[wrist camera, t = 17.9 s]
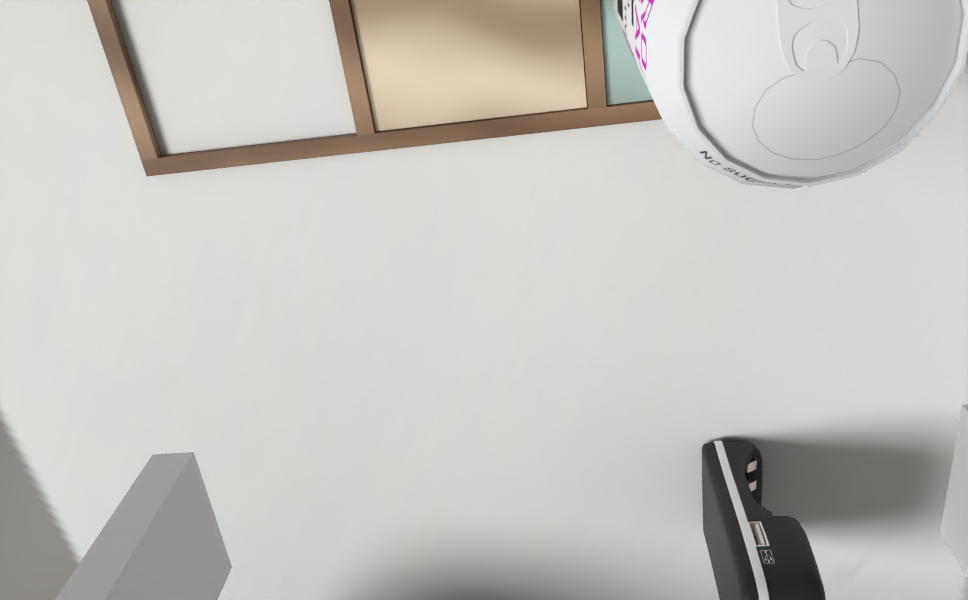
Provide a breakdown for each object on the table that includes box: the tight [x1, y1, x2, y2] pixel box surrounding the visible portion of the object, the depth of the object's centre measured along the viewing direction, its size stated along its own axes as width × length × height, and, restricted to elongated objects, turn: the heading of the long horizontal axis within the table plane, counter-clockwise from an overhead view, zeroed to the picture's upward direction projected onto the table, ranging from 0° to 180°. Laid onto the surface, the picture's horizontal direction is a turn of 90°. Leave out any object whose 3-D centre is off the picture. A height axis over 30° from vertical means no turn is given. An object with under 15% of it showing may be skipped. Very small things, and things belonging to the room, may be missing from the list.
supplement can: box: [613, 0, 968, 189], centre depth 27 cm, size 8×8×15 cm
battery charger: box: [702, 441, 826, 600], centre depth 41 cm, size 7×4×11 cm, turn 8°
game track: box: [87, 0, 662, 176], centre depth 34 cm, size 11×32×1 cm, turn 98°
